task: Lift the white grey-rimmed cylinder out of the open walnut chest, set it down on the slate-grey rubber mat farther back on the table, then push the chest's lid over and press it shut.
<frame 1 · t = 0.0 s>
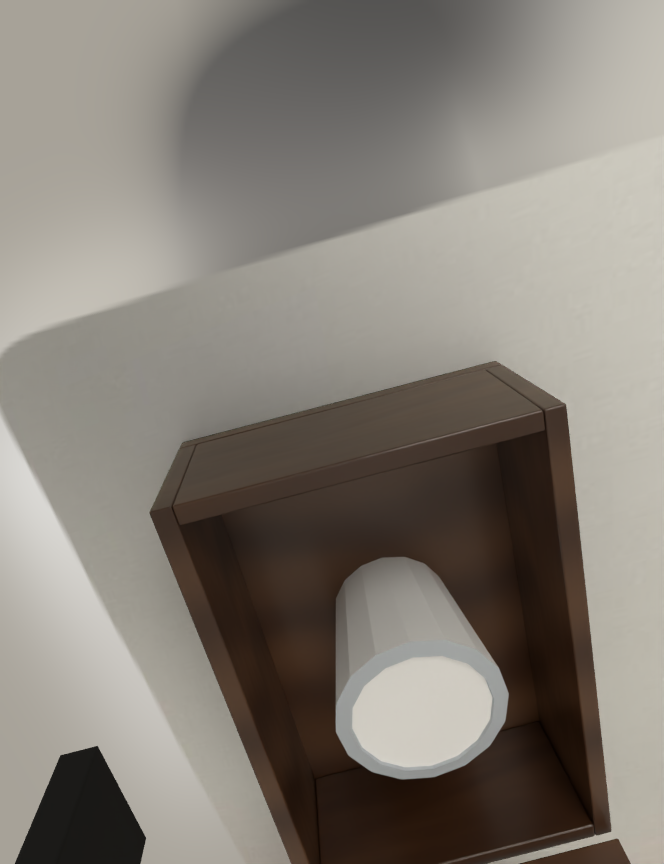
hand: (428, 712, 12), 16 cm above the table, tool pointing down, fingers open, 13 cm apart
chest: (387, 596, 29), on the table
white grey-rimmed cylinder: (390, 602, 29), point 1 cm above the table, touching chest
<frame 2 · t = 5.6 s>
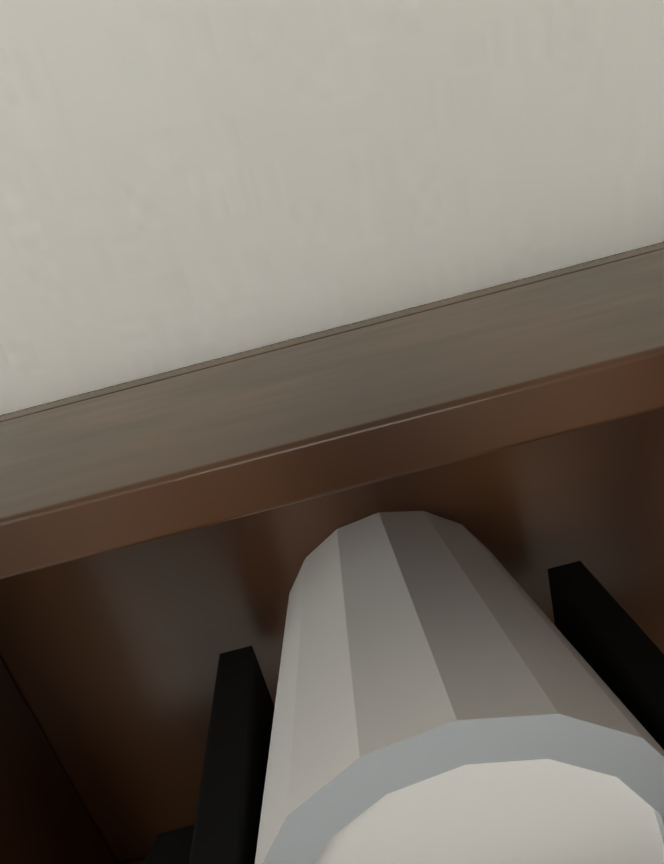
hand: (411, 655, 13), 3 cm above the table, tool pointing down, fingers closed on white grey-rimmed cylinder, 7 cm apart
chest: (391, 587, 16), on the table
white grey-rimmed cylinder: (394, 601, 15), point 1 cm above the table, touching chest, gripper
when the fingers open (2 cm above the table, at t = 13.9 s): white grey-rimmed cylinder stays where it is, resting on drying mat.
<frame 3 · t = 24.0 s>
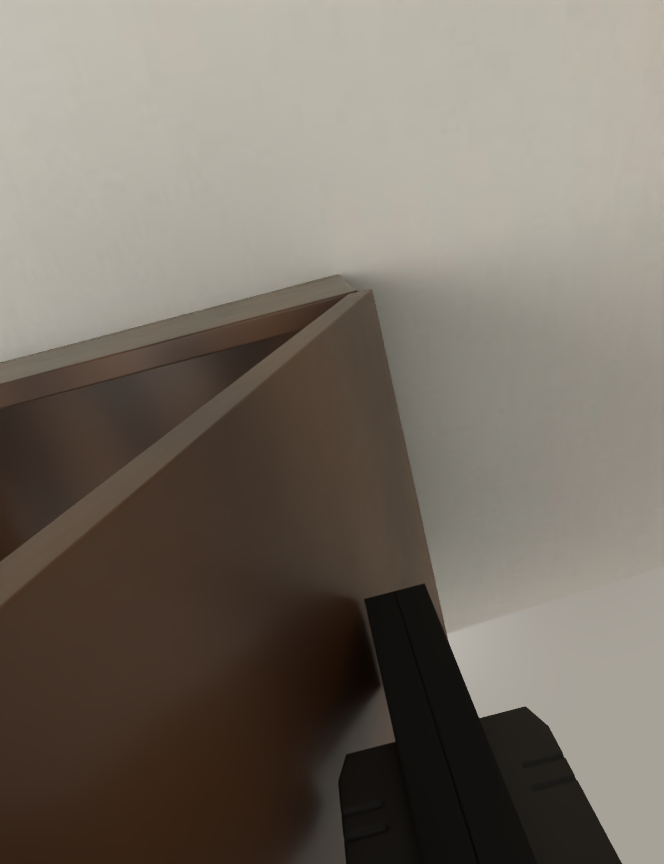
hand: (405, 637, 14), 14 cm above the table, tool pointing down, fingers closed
chest lid: (305, 802, 10), point 18 cm above the table, hinge at 68.8°, touching gripper
chest: (154, 485, 27), on the table
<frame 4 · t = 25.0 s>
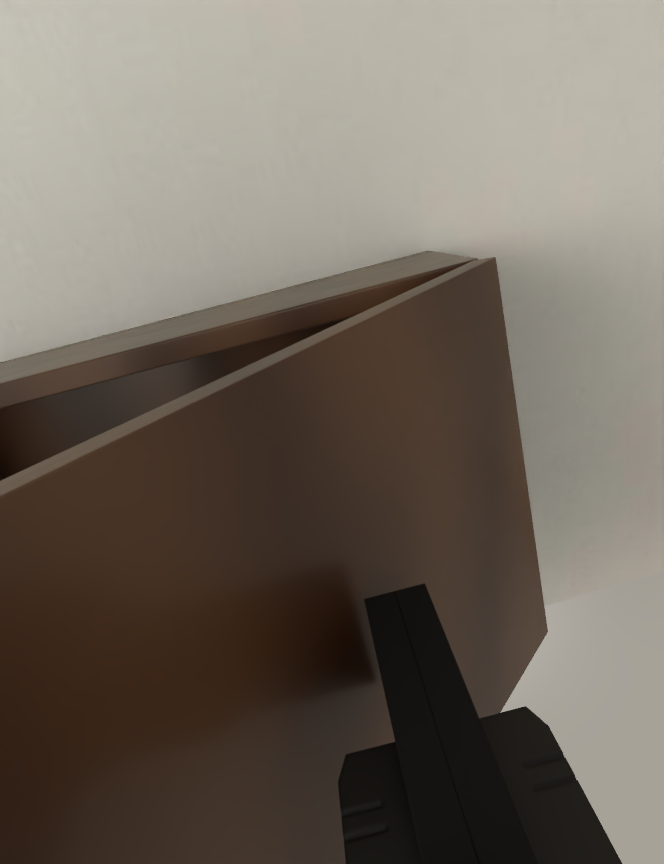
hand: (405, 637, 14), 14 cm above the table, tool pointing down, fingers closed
chest lid: (305, 694, 13), point 15 cm above the table, hinge at 45.0°, touching gripper
chest: (236, 464, 27), on the table
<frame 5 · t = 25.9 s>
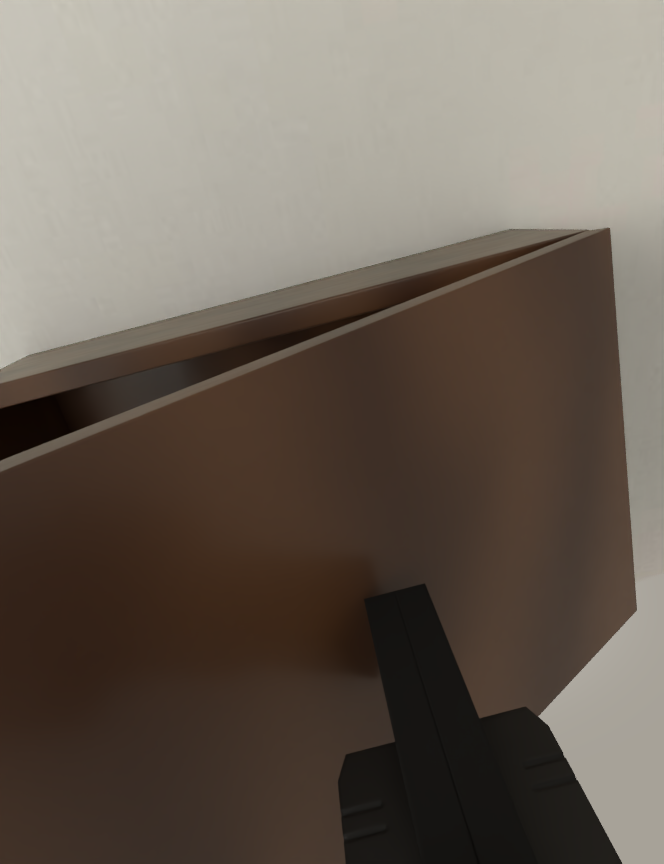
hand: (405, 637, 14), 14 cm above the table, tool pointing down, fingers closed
chest lid: (381, 617, 15), point 13 cm above the table, hinge at 32.5°, touching gripper
chest: (310, 444, 27), on the table
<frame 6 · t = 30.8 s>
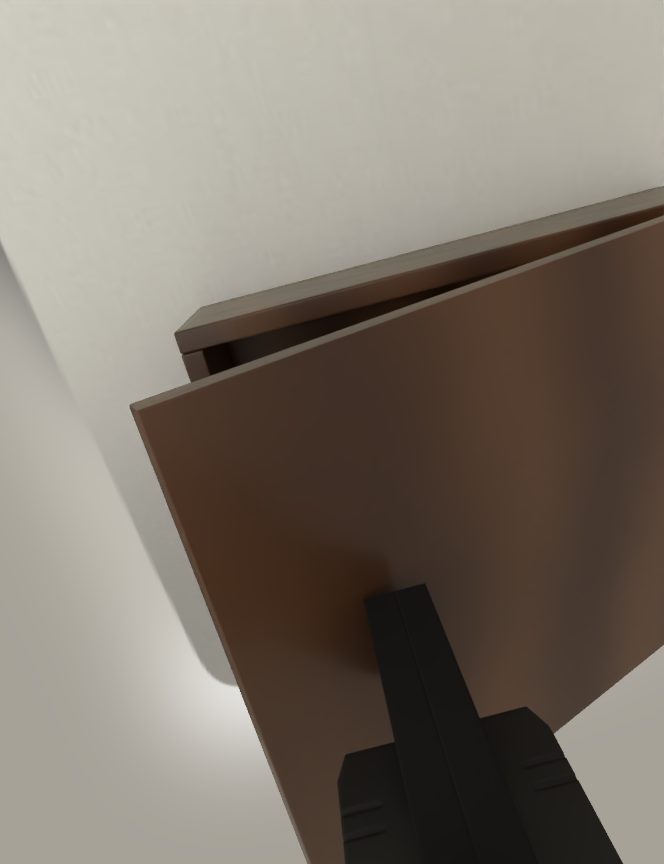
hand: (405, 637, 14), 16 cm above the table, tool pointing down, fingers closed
chest lid: (582, 499, 17), point 12 cm above the table, hinge at 24.0°, touching gripper
chest: (455, 396, 29), on the table
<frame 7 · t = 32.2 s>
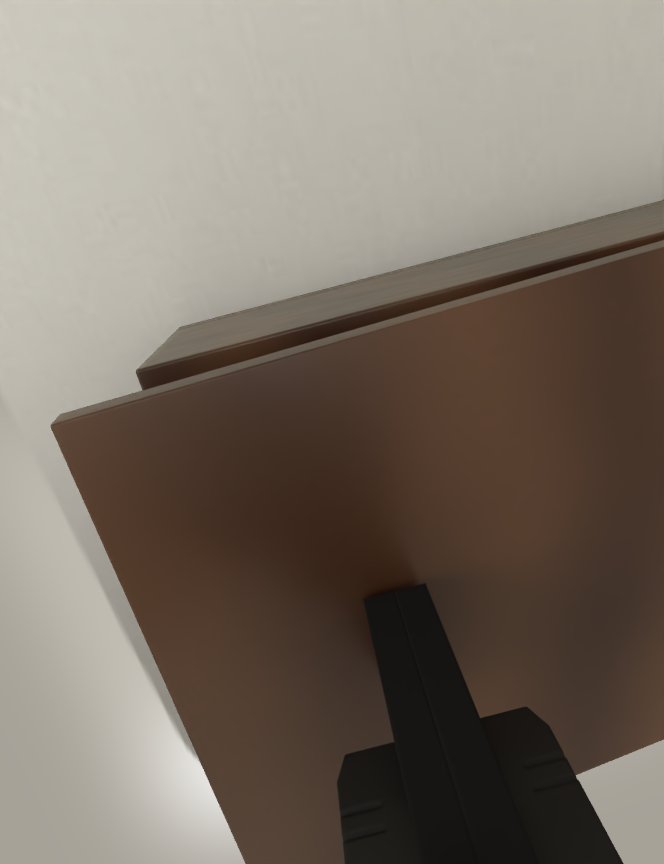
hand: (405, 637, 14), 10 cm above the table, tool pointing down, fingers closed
chest lid: (594, 547, 15), point 9 cm above the table, hinge at 7.3°, touching gripper
chest: (494, 433, 23), on the table
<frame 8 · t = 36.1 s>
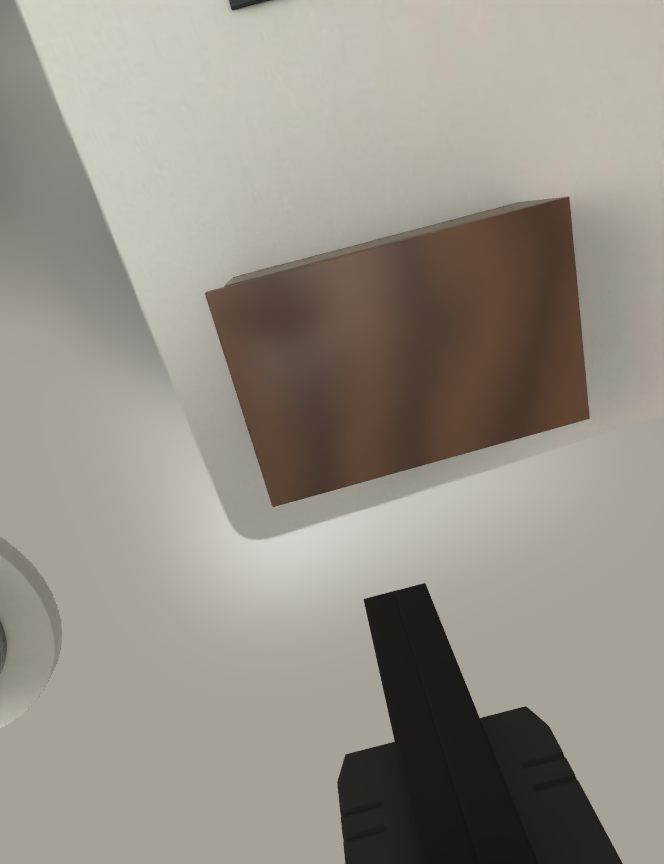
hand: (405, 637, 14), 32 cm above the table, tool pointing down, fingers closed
chest lid: (410, 359, 37), point 8 cm above the table, hinge at 2.4°
chest: (395, 336, 44), on the table
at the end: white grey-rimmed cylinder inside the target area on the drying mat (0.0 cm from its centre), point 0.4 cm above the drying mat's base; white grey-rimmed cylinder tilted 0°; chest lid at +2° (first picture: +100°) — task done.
